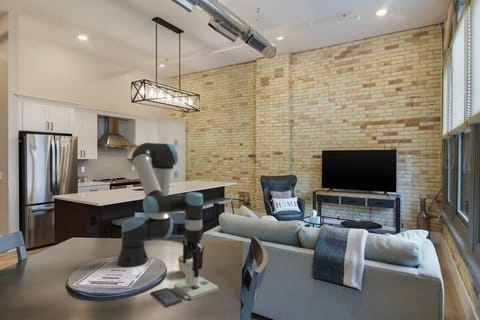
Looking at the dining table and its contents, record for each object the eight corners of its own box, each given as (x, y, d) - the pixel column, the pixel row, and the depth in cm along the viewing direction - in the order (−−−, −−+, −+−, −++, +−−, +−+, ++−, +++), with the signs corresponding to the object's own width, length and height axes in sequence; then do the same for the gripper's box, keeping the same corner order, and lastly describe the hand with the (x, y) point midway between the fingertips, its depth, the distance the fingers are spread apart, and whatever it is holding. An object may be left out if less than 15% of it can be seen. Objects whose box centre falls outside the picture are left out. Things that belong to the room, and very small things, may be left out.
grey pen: (167, 289, 128) (167, 287, 128) (169, 288, 129) (169, 286, 129) (186, 299, 119) (186, 297, 119) (188, 298, 120) (188, 296, 120)
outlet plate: (174, 287, 130) (174, 284, 130) (200, 279, 139) (200, 276, 139) (191, 300, 119) (191, 296, 119) (218, 290, 129) (218, 286, 129)
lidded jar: (178, 278, 140) (179, 258, 140) (177, 269, 150) (177, 251, 150) (201, 276, 143) (201, 257, 143) (198, 268, 153) (198, 250, 153)
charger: (185, 282, 127) (185, 259, 127) (192, 280, 130) (193, 258, 130) (190, 286, 124) (190, 262, 124) (198, 283, 127) (198, 260, 127)
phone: (150, 295, 123) (150, 292, 123) (165, 290, 128) (166, 287, 128) (166, 308, 113) (166, 305, 113) (182, 303, 118) (182, 300, 118)
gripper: (175, 225, 131) (174, 277, 131) (197, 234, 118) (195, 291, 118) (190, 223, 136) (188, 273, 136) (212, 231, 123) (210, 286, 124)
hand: (191, 282), depth 127 cm, fingers closed on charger, 4 cm apart
